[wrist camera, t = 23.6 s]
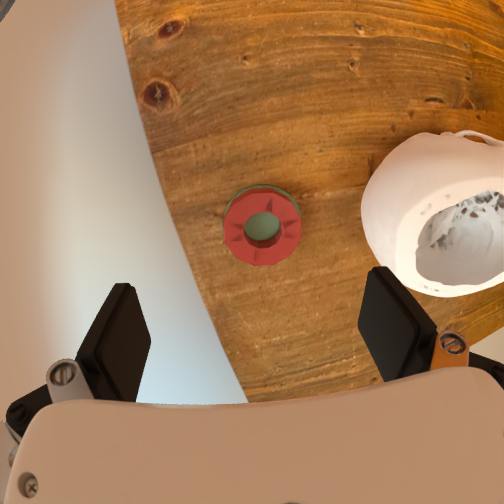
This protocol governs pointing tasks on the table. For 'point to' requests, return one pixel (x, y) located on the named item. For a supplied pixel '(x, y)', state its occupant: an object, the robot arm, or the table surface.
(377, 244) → the skull planter
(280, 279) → the table surface
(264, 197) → the red ring
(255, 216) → the coaster
